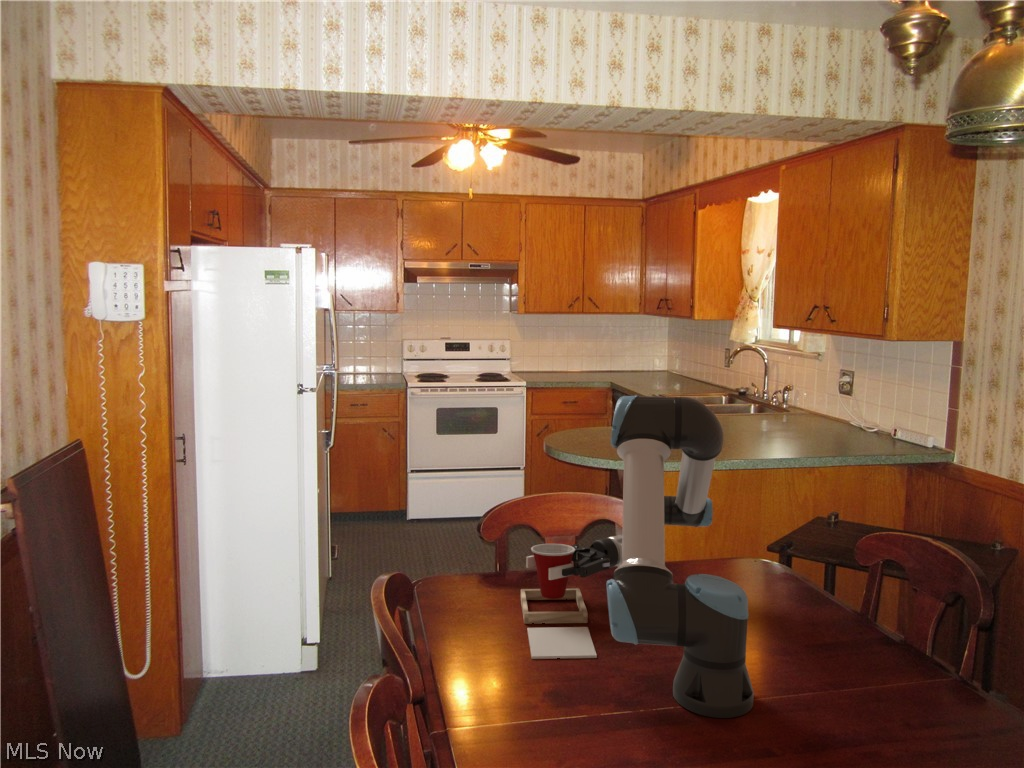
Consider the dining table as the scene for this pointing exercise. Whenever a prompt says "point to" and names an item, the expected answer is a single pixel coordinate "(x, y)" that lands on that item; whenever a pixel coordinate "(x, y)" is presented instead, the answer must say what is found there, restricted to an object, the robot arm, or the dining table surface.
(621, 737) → the dining table surface
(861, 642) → the dining table surface
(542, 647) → the white tile
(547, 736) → the dining table surface
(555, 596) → the plastic cup
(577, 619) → the birch collar
